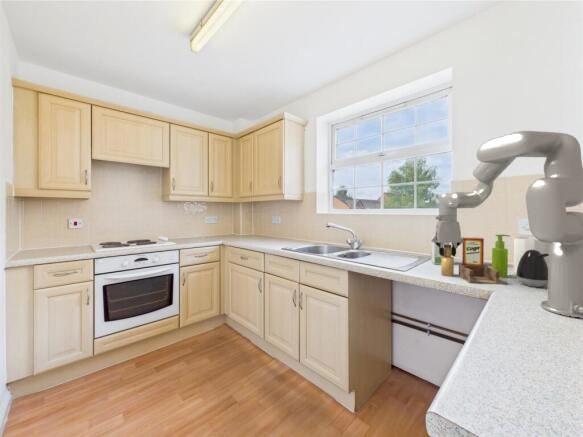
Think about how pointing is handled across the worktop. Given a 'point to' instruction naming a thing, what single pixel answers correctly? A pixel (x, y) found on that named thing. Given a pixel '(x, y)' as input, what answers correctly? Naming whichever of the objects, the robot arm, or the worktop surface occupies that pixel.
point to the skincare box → (437, 252)
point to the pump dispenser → (533, 269)
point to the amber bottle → (447, 262)
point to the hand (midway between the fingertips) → (447, 255)
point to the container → (528, 248)
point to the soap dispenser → (500, 257)
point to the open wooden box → (479, 274)
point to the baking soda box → (473, 251)
